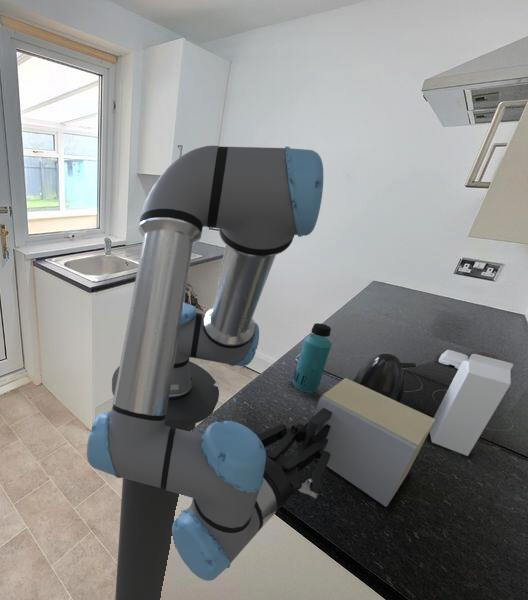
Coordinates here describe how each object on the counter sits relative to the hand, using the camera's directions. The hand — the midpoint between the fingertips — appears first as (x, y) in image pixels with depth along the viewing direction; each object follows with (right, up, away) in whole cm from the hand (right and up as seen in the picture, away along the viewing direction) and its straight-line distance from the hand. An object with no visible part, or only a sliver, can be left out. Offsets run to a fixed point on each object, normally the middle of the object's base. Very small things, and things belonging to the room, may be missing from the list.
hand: (320, 426), depth 62 cm
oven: (+9, -8, +2) cm, 12 cm away
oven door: (+1, -9, -3) cm, 10 cm away
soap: (+70, +5, +45) cm, 83 cm away
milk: (+35, -7, +9) cm, 36 cm away
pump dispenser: (+26, -2, +20) cm, 33 cm away
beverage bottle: (+10, 0, +24) cm, 26 cm away
